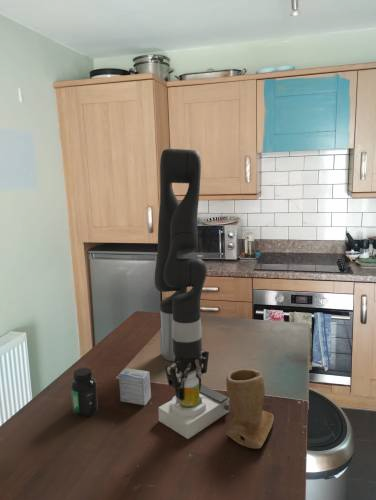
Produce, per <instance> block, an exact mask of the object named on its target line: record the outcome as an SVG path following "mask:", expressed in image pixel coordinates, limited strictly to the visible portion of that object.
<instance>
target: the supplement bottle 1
mask: <svg viewBox="0 0 376 500" xmlns="http://www.w3.org/2000/svg"><path fill="white" fill-rule="evenodd" d="M72 376H73V380H72V381H71V384H70V393H71V395H70V396H71V402H72V403H71V404H72V413H73V415H74V416H75V417H78V418H89V417H92V416H94V415H95V414H96V413H97V412H98V410H99V400H98V387H97V380H96V379H95V378H94V377H93V374H92V369H91V368H89V367H80V368H78V369H75V370H74V371H73V375H72Z"/></svg>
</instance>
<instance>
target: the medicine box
mask: <svg viewBox="0 0 376 500" xmlns="http://www.w3.org/2000/svg"><path fill="white" fill-rule="evenodd" d="M150 373H151V372H150V371H147V370H140V369H134V368H127V367H126V368H124V369H123V370H122V371H121V372H120V373H119V374H118V382H119V394H120V396H119V397H120V402H122V403H129V404H135V405H142V406H146V405H147V404H148V402H149V401H150V400H151V398H152V392H151V377H150Z"/></svg>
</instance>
